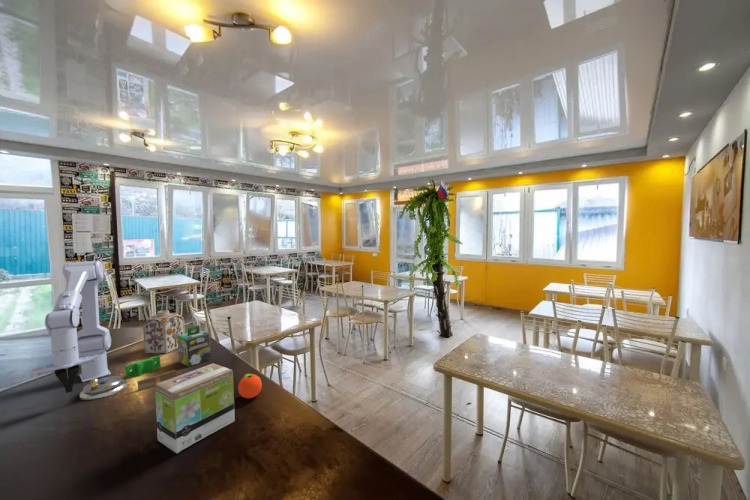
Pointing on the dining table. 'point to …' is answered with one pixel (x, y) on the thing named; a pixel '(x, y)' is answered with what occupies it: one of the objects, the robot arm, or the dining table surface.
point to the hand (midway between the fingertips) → (68, 391)
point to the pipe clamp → (142, 366)
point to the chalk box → (194, 347)
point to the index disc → (102, 385)
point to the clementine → (249, 386)
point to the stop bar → (155, 380)
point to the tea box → (194, 406)
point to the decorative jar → (162, 332)
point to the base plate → (104, 394)
